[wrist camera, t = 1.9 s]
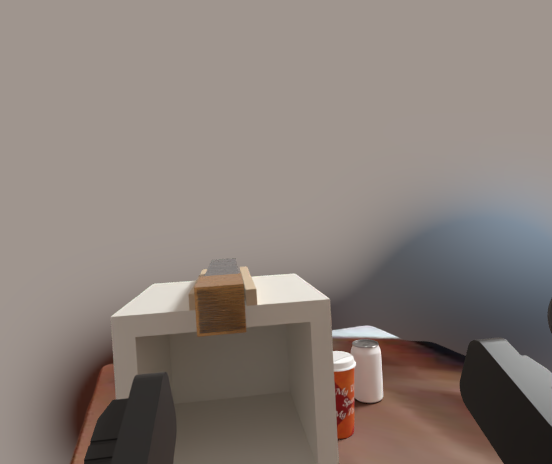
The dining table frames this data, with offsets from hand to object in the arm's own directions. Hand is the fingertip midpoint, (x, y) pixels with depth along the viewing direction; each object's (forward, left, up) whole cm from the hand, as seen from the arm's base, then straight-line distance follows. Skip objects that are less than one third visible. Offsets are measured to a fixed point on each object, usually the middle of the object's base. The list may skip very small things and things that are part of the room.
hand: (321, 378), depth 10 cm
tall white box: (+3, -36, -35) cm, 51 cm away
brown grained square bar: (+3, -29, -3) cm, 30 cm away
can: (-26, -73, -36) cm, 86 cm away
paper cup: (-16, -61, -36) cm, 73 cm away
